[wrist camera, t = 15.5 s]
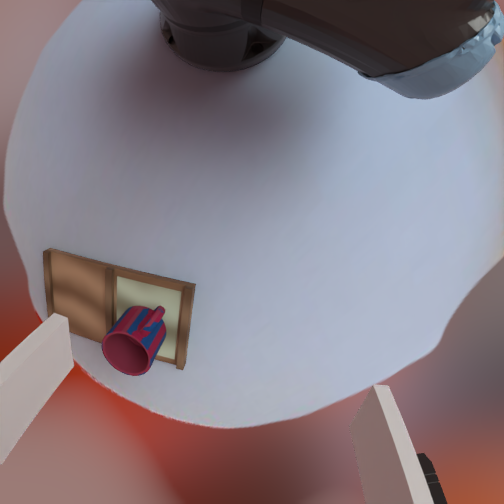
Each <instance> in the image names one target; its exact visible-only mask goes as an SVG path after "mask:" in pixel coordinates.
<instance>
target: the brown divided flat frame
mask: <svg viewBox="0 0 504 504" xmlns="http://www.w3.org/2000/svg"><path fill="white" fill-rule="evenodd" d="M43 264H44V280H45V292H46V302H47V311H48V318H49V317H50V316H51V315H52V314H53V313H56V314H59V315H62V316H64V317H67V318H68V324H69V332H71V333H74V334H77V335H79V336H82V337H85V338H88V339H91V340H94V341H97V342H100V343H102V340H103V338H104V336H105V335H106V334H107V333H108V331H109V330H110V329H111V328H112V327H113V325H114V324H115V323H116V322H117V320H118V319H119V318H120V317H121V316H122V314H123V313H124V312H125V311H126V310H127V309H128V308H130V307H132V306H145V307H148V308H150V309H152V310H153V311H154V310H155V309H156V308H157V307H158V306H160V305H161V306H162V307H164V309H165V314H164V315H163V317H162V320H163V321H164V323H165V326H166V338H165V340H164V342H163V344H162V346H161V347H160V349H159V351H158V353H157V355H156V357H155V359H156V360H160V361H163V362H167V363H171V364H175V365H177V366H176V369H180V370H183V369H184V366H185V364H186V356H187V348H188V339H189V331H190V323H191V315H192V307H193V300H194V293H195V285H196V284H193V283H189V282H184V281H180V280H175V279H171V278H167V277H162V276H158V275H154V274H149V273H145V272H141V271H137V270H133V269H129V268H125V267H121V266H117V265H113V264H109V263H105V262H101V261H97V260H93V259H89V258H85V257H82V256H78V255H74V254H70V253H67V252H63V251H59V250H56V249H52V248H49V249H47V250H45V251H43Z"/></svg>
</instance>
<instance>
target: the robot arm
mask: <svg viewBox="0 0 504 504" xmlns="http://www.w3.org/2000/svg"><path fill="white" fill-rule="evenodd" d="M151 1H152V2H153V3H154V4H155V6H156V7H157V8H158V9H159V10H160V25H161V31H162V34H163V37H164V39H165V41H166V43H167V44H168V46H169V47H170V48H171V49H172V50H173V51H174V52H175V53H176V54H177V55H178V56H179V57H180V58H181V59H182V60H184V61H185V62H187V63H188V64H190V65H192V66H195V67H197V68H200V69H204V70H208V71H217V72H228V71H236V70H241V69H245V68H248V67H251V66H253V65H256V64H258V63H260V62H262V61H263V60H265V59H266V58H268V57H269V56H271V55H272V54H273V53H274V52H275V51H276V50H277V49H278V48H279V47H280V46H281V45H282V43H283V42H284V40H285V38H286V37H288V38H290V39H292V40H295V41H297V42H299V43H302V44H304V45H306V46H308V47H311V48H313V49H315V50H317V51H319V52H321V53H324V54H326V55H328V56H330V57H332V58H334V59H336V60H338V61H340V62H342V63H344V64H346V65H347V66H349V67H351V68H353V69H355V70H357V71H358V74H359V75H361V76H362V77H364V78H366V79H368V80H372V81H377V82H379V83H380V84H382V85H384V86H386V87H388V88H389V89H391V90H393V91H395V92H396V93H398V94H400V95H402V96H404V97H407V98H416V99H432V98H436V97H439V96H442V95H445V94H447V93H450V92H451V91H453V90H455V89H457V88H459V87H460V86H462V85H463V84H465V83H466V82H468V81H469V80H470V79H472V78H473V77H474V76H475V75H476V74H477V73H479V72H480V71H481V70H482V69H483V68H484V67H485V66H486V64H487V63H488V62H489V61H490V59H491V58H492V57H493V55H494V54H495V48H494V46H495V45H496V44H498V43H500V42H501V41H502V38H503V35H504V16H503V13H502V12H501V10H500V8H499V5H498V4H497V3H496V1H494V0H151ZM73 367H74V363H73V356H72V349H71V341H70V333H69V324H68V318H67V317H64V316H62V315H59V314H56V313H53V314H52V315H51V316H50V317H49V318H48V319H47V320H46V321H44V322H43V323H42V324H41V325H40V326H39V327H38V328H37V329H36V330H35V331H33V332H32V333H31V334H30V335H29V336H28V337H27V338H26V339H25V340H24V341H22V343H20V344H19V345H18V346H17V347H16V348H15V349H14V350H13V351H12V352H11V353H10V354H9V355H8V356H7V357H6V358H5V359H4V360H3V361H2V362H0V464H1V465H2V464H3V462H4V460H5V459H6V457H7V456H8V454H9V453H10V452H11V450H12V449H13V447H14V446H15V444H16V443H17V442H18V440H19V438H20V437H21V436H22V434H23V433H24V432H25V430H26V429H27V427H28V426H29V425H30V423H31V422H32V420H33V419H34V418H35V416H36V415H37V414H38V412H39V411H40V410H41V408H42V407H43V406H44V404H45V403H46V401H47V400H48V399H49V398H50V396H51V395H52V394H53V392H54V391H55V390H56V388H57V387H58V386H59V385H60V383H61V382H62V381H63V379H64V378H65V377H66V376H67V374H68V373H69V372H70V370H71V369H72V368H73ZM349 429H350V433H351V438H352V442H353V446H354V451H355V455H356V460H357V464H358V469H359V474H360V478H361V483H362V488H363V493H364V498H365V503H366V504H447V501H446V498H445V496H444V493H443V490H442V488H441V485H440V483H439V482H438V481H439V480H438V477H437V475H436V474H435V473H436V472H435V469H434V467H433V464H432V462H431V461H430V460H429V459H428V458H427V457H426V455H425V454H424V453H421V454H416V452H415V450H414V447H413V444H412V442H411V439H410V437H409V435H408V432H407V429H406V427H405V424H404V422H403V419H402V417H401V414H400V412H399V410H398V407H397V405H396V403H395V400H394V398H393V395H392V393H391V391H390V388H389V386H384V385H373V386H372V388H371V390H370V391H369V393H368V395H367V397H366V399H365V400H364V402H363V404H362V405H361V407H360V409H359V411H358V412H357V414H356V416H355V417H354V419H353V421H352V422H351V424H350V425H349Z"/></svg>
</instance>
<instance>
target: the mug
mask: <svg viewBox="0 0 504 504" xmlns="http://www.w3.org/2000/svg"><path fill="white" fill-rule="evenodd" d="M164 314H165V309H164V307H162V306H161V305H160V306H158V307H157V308H156V309H155V310H154V311H153V310H152V309H150V308H148V307H145V306H132V307H130V308H128V309H127V310H126V311H125V312H124V313H123V314H122V316H121V317H120V318H119V319H118V320H117V322H116V323H115V324H114V325H113V327H112V328H111V329H110V330H109V331H108V333H107V334H106V335H105V336H104V338H103V340H102V351H103V354H104V356H105V358H106V359H107V361H108V362H109V363H110V364H111V365H112V366H113V367H114V368H115V369H117V370H118V371H120V372H122V373H124V374H127V375H132V376H138V375H142V374H145V373H146V372H147V371H148V370H149V369H150V367H151V365H152V363H153V361H154V359H155V357H156V355H157V353H158V351H159V349H160V347H161V346H162V344H163V342H164V340H165V338H166V326H165V323H164V321H163V320H162V317H163V315H164Z"/></svg>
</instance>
